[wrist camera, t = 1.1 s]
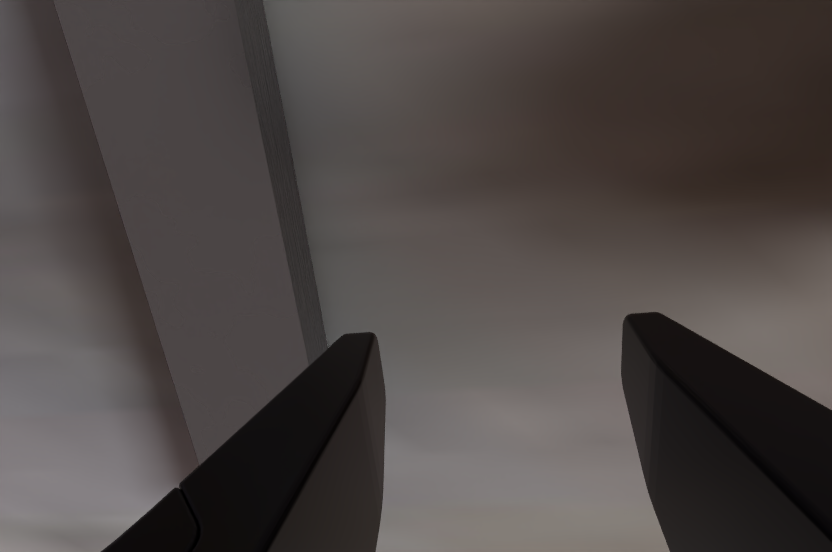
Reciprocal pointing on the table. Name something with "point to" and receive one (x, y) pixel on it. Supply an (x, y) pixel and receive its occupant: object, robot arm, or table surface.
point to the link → (203, 195)
